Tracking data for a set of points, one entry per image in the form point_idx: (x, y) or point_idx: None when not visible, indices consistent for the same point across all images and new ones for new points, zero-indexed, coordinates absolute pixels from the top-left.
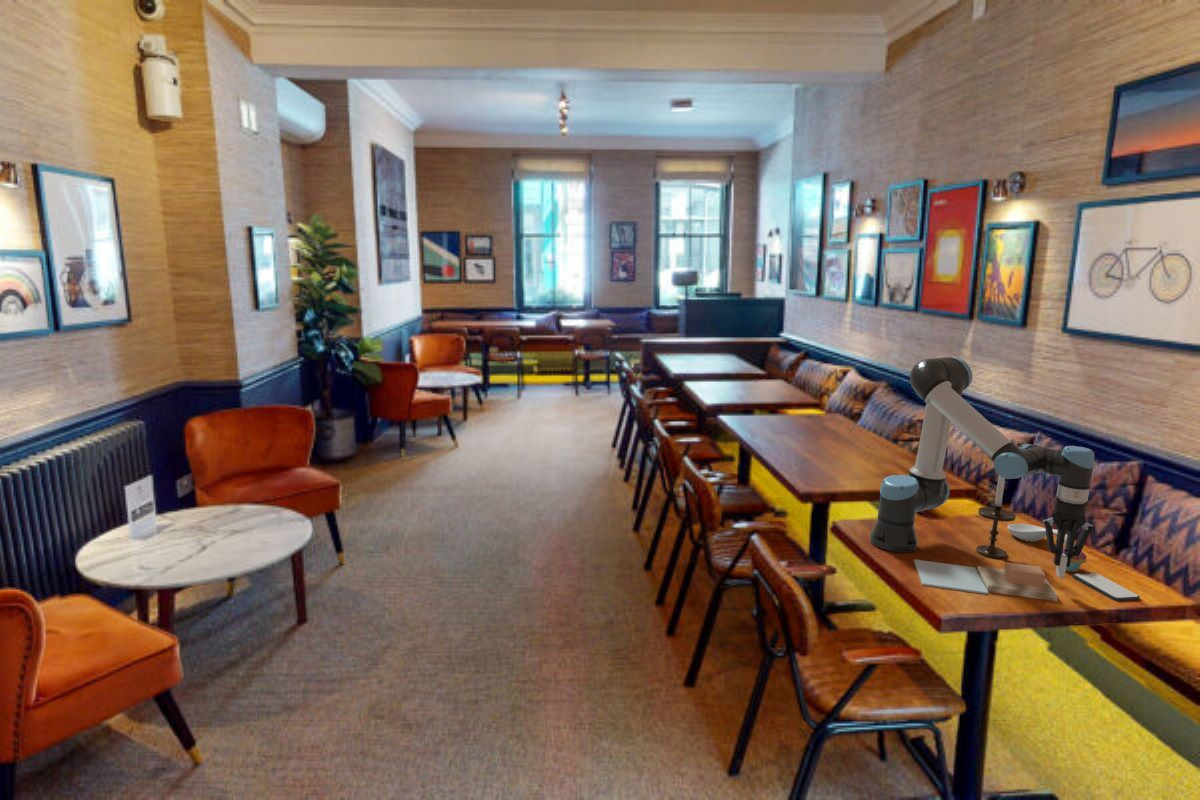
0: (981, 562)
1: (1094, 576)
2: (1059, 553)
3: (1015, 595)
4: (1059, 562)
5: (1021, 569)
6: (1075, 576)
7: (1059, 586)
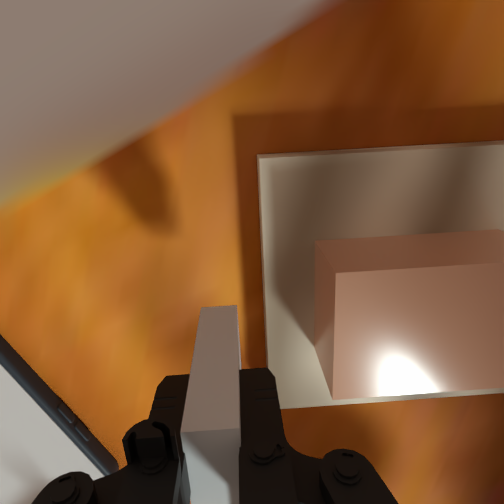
0: (481, 469)
1: (24, 494)
2: (268, 459)
3: (468, 142)
4: (243, 390)
5: (479, 304)
6: (108, 467)
7: None
